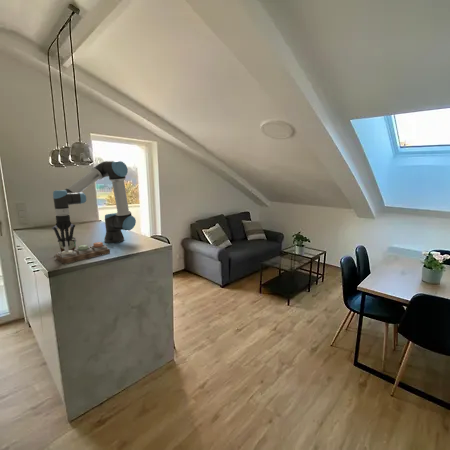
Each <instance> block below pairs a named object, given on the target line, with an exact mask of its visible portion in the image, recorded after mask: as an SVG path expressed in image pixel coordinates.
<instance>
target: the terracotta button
mask: <svg viewBox="0 0 450 450" xmlns="http://www.w3.org/2000/svg"><path fill="white" fill-rule="evenodd" d="M103 245H104V243H103V242H102V241H97V242H94V243H93V244H92V246H94V248H98V247H103Z"/></svg>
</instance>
